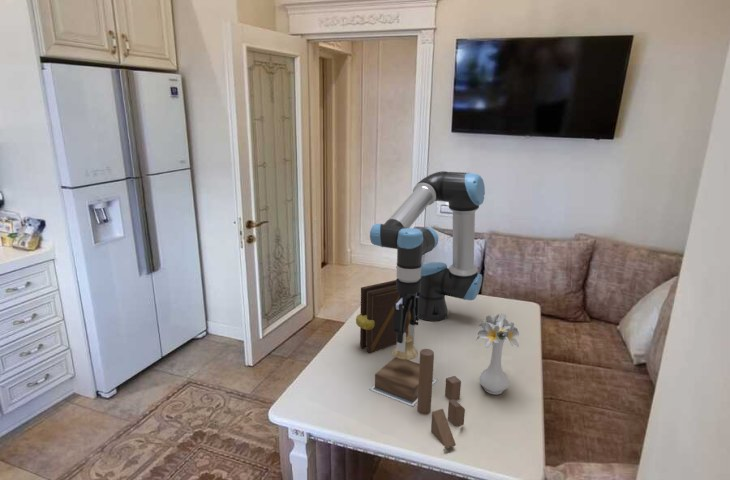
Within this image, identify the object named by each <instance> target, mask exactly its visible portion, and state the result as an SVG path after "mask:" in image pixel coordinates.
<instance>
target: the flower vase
mask: <svg viewBox="0 0 730 480" xmlns="http://www.w3.org/2000/svg"><path fill="white" fill-rule="evenodd" d="M485 321H486V322H485ZM485 321H484V319H481V322H480V323H479V324H478V327H481V328H480V329H479V330H478V332H477V335H478V336H477V338H476V340H475V341H478V340H479V339H482V340H486V341H485V343H484V345H485V346H484V347H485V348H486V349H487V348H489V347H490V346H491V345H492V347H491V358H490V363H489V365H488V367H487V368H486V369H484V370H483V371H481V372H480V375H479V378H478V379H479V383H480V385H481V387H483V390H484V391H485V392H486V393H488V394H490V395H493V396H494V395H497V396H498V395H501V394H502V393H503V392H504V391H505V390H506V389H507V388H509V385H510V380H509V377H508V376H507V374H506V372H505V371H504V370H503V367H502V355H503V354H502V353H503V346H504V343H505V340H506V339H508V341H509V343H510V345H511V347H513V346H514V345H515V346H516V347H517V348H518V347H519V342H518V340H517V337H519V335H520V332H519V329H518V328H517V327H515V324H514V322H513V321H508V319H507V314H506V313H504V312H502V313H501V314H499V313H498V314H496V315H495V316H491V315H489V314H488V315H486V317H485Z"/></svg>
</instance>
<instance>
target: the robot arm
mask: <svg viewBox="0 0 730 480" xmlns="http://www.w3.org/2000/svg"><path fill="white" fill-rule="evenodd" d="M485 194H486V188H485V182H484V179H483V178H482V176H481V175H480V174H478V173H472V172H461V171H457V172H456V171H444V170H443V171H436V172H434V173H432V174H431V173H430V174H429V175H427V176H425V177H423V178H422V179H421V180H419V182H417V183H416V184H415V186H414V187H413V189H412V192H411V194H410V195H409V196H408V197H407V198H406V200H404V201H403V203H401V204H400V206H399V207H398V208H397V209H396V210H395V212H394V213H393V214H392V215H391V216H390V217H389V218H388V219H387V220H386V221H385V223H375V224H373V225H372V227H371V229H370V231H369V241H370V243H371V244H372V245H374V246H377V247H378V246H379V247H381V248H386V249H387V248H389V249H395V250H397V253H396V254H397V255H396V257H397V258H396V267H395V268H396V279H395V280H396V290H397V291H398V292H399V293H400V296H399V301H398V303H394V323H393V332H395V333H397V345H396V347H397V348H396V347H395V348H396V350H397V351H400V352H405V342H406V333H405V326H406V320H407V314H408V312H409V311H410V314H411V319H410V323H409V331H408V332H409V333H408V336H410V337H412V339H413V346H414V345H415V340H416V339H415V336H416V326H419V320H420V319H421V320H424V321H434V322H435V321H441V320H445V319H446V318H447V317H448V316H449V309H448V305H447V302H446V297H452V298H456V299H461V300H463V301H464V300H465V301H474V300H475V299H476V298H477V296H478V294H479V292H480V291H481V287H482V282H483V274H481V273H478V270H479V269H478V267H477V266H476V264H475V234H476V233H475V231H476V230H475V228H476V227H475V226H476V211H477V210H478V209H479V208H480V206H481V205H482V204H483V203H484V200H485ZM435 202H444V203H445V202H447V203H448V209H449V210H450V211H452V212H451V213H452V264H450V266H449V267H448V265H447V263H444V262H441V261H434V262H433V261H431V262H427V263H424V264H422V261H423V260H422V259H423V255H425V254H428V253H429V252H431V251H432V250H434V249H435V248H436V247H437V245H438V244H439V236H438V235H439V234H437V232H436V231H435V229H433V228H430V227H424V228H421V229H419V228H415V227H412V226H413V224H414V223H415V221H417V219H418V218H419V217H420V216H421V214H422V213H423V212H424V211H425V210H426V208H427V207H428V206H430V205H433V204H434V203H435ZM404 308H406V309H404Z"/></svg>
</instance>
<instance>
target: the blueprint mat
mask: <svg viewBox="0 0 730 480" xmlns="http://www.w3.org/2000/svg"><path fill="white" fill-rule="evenodd" d="M437 381H438V379H437V378H434V377H433V382H432V387H433V386H434V385H435V384H436V383H437ZM368 390H369V391H371V392H374V393H376V394H378V395H381V396H384V397H386V398H389V399H391V400H394V401H397V402H399V403H402V404H404V405H407V406H409V407H412V408H414V407H415V406H416V405H417V404H418V398H417V399H416V400H415V401H414V402H411V401H408V400H405V399H403V398H400V397H398V396H395V395H392V394H390V393H387V392H385V391H382V390H379V389H377V388H375V384H373V385H372V386H371V387H370V388H369V389H368Z"/></svg>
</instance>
